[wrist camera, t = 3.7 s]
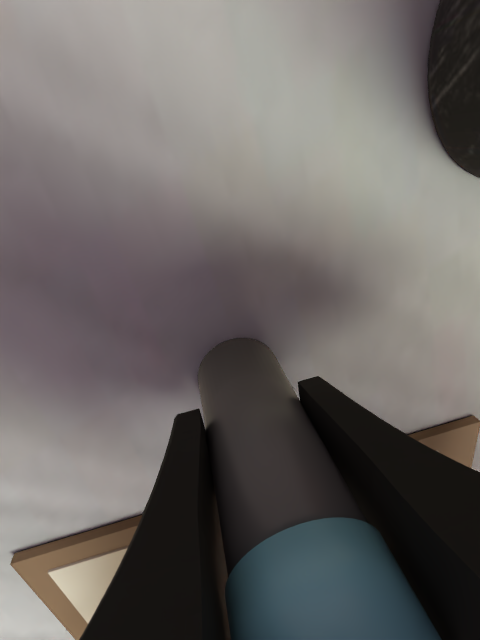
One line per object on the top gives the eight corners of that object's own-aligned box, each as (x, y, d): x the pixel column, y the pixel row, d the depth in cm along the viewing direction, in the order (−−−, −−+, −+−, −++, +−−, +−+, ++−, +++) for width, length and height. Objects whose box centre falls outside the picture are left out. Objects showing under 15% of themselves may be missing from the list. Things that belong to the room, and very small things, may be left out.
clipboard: (473, 415, 15) (496, 434, 14) (440, 587, 22) (454, 609, 21) (14, 553, 13) (1, 587, 12) (133, 696, 20) (132, 726, 19)
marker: (274, 326, 11) (463, 612, 4) (284, 395, 13) (439, 702, 5) (185, 348, 11) (224, 698, 4) (205, 417, 12) (261, 771, 5)
